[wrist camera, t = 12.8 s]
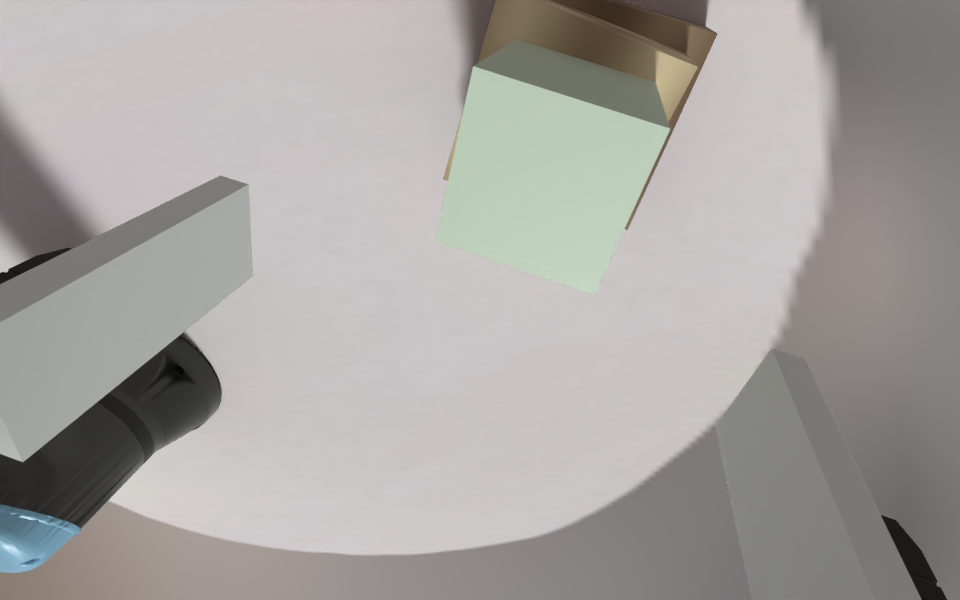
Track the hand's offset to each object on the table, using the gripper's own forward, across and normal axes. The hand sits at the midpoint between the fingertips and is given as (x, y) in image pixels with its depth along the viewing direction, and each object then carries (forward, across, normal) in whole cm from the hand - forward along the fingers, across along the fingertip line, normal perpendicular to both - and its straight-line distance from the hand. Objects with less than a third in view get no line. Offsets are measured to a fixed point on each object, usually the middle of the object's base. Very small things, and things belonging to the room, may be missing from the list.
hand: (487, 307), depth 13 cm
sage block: (+17, 0, 0) cm, 17 cm away
